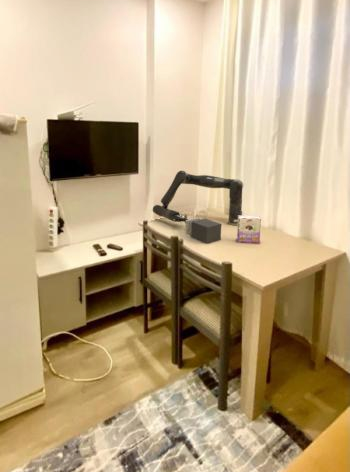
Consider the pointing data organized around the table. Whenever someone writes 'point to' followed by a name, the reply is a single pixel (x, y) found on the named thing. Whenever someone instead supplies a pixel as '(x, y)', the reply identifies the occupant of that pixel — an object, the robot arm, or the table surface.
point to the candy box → (248, 229)
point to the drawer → (190, 225)
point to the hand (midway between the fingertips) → (187, 221)
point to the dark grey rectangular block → (206, 230)
